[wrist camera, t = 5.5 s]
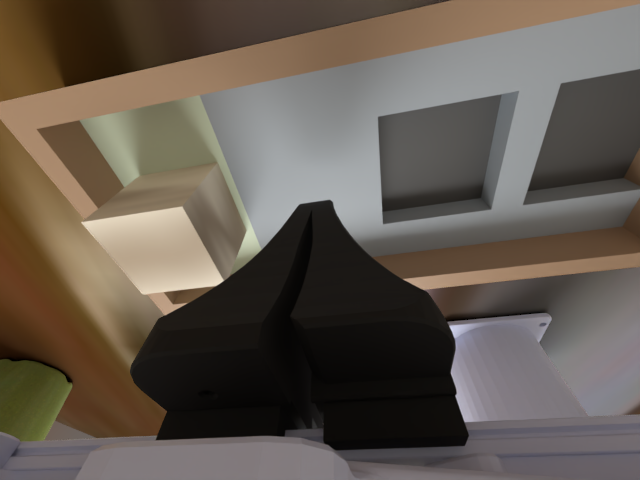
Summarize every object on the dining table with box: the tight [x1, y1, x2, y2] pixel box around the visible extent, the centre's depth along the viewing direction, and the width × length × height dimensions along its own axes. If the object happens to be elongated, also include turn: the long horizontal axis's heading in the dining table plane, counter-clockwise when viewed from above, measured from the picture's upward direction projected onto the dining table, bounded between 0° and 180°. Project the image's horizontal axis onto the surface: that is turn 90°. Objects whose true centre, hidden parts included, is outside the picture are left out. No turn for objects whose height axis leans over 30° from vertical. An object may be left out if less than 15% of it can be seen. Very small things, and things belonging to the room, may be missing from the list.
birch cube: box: [81, 162, 247, 294], centre depth 13 cm, size 4×4×4 cm
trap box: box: [0, 0, 640, 315], centre depth 13 cm, size 12×27×4 cm, turn 100°
